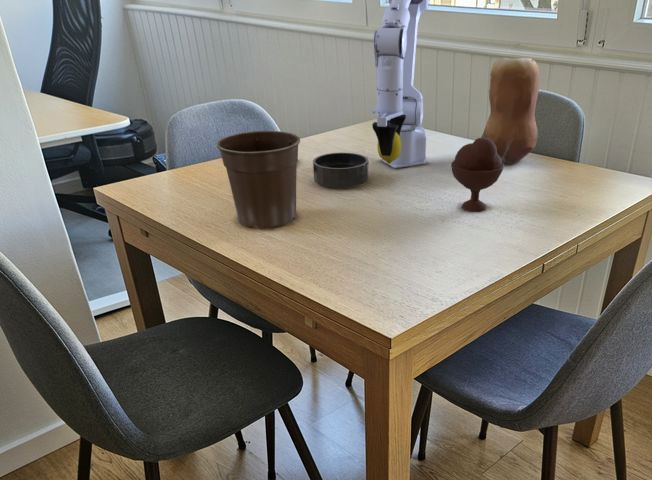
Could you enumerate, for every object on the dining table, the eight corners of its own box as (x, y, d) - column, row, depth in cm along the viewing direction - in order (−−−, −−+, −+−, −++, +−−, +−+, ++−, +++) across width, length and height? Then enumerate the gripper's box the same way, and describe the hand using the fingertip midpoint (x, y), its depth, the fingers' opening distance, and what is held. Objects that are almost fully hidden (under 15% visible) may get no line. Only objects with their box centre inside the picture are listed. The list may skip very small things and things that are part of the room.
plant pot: (214, 216, 131) (202, 138, 123) (280, 199, 140) (273, 125, 131) (251, 240, 121) (240, 157, 112) (320, 220, 129) (315, 141, 120)
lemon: (376, 160, 147) (376, 125, 143) (399, 159, 147) (400, 125, 143) (378, 167, 142) (378, 132, 138) (402, 166, 143) (403, 131, 138)
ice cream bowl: (502, 201, 137) (510, 131, 129) (494, 219, 129) (501, 146, 120) (455, 196, 140) (460, 128, 132) (444, 213, 131) (448, 141, 123)
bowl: (354, 169, 158) (353, 149, 155) (378, 184, 148) (377, 163, 145) (305, 177, 153) (304, 157, 150) (327, 193, 143) (326, 172, 140)
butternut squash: (500, 151, 170) (511, 51, 157) (543, 160, 163) (558, 56, 149) (470, 162, 162) (478, 57, 148) (514, 172, 154) (527, 63, 141)
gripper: (380, 82, 143) (380, 142, 150) (363, 94, 131) (364, 159, 138) (410, 83, 141) (408, 143, 148) (395, 96, 129) (394, 161, 137)
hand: (389, 151), depth 143 cm, fingers closed on lemon, 5 cm apart
